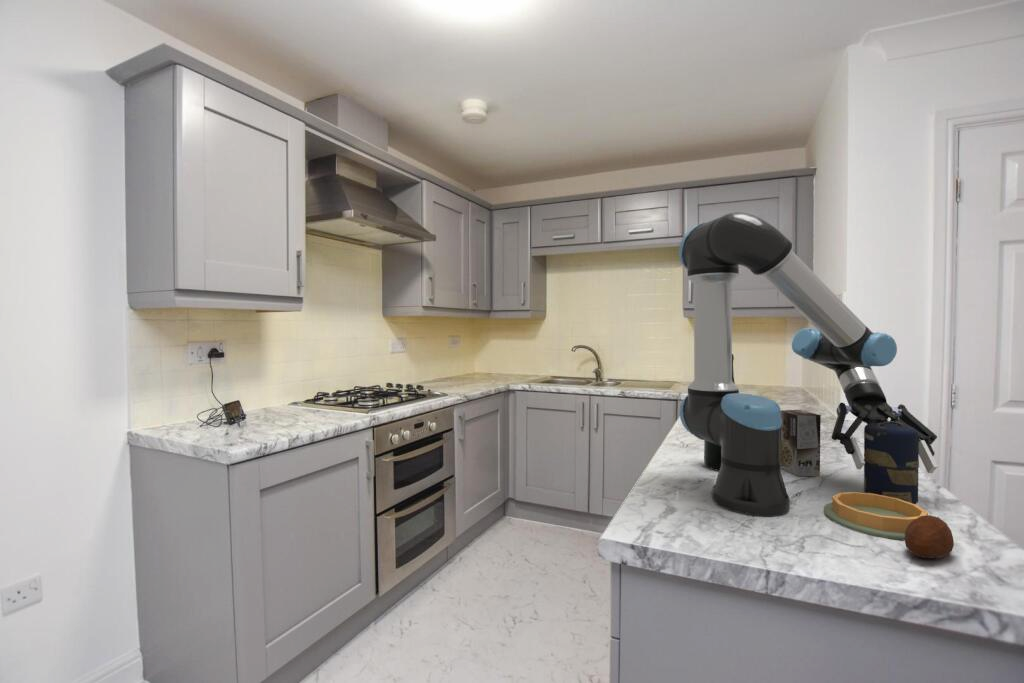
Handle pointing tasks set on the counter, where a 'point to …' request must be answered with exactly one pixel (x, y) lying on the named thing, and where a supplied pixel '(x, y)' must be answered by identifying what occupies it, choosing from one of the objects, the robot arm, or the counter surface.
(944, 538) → the potato
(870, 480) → the canister
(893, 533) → the green orange round dish
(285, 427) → the counter surface
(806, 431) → the coffee box
